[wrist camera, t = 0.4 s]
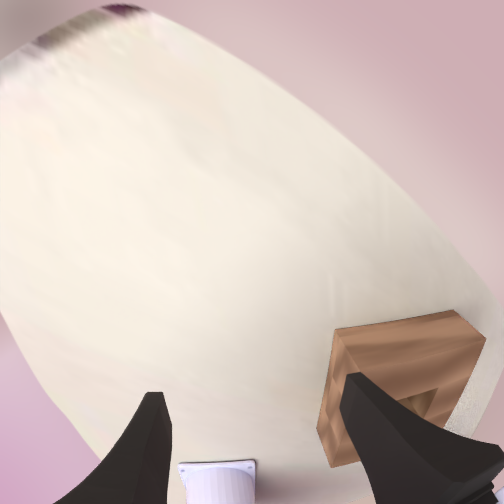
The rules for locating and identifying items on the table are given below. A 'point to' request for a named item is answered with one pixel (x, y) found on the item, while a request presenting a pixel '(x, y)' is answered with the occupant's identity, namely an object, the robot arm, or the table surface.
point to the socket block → (400, 371)
